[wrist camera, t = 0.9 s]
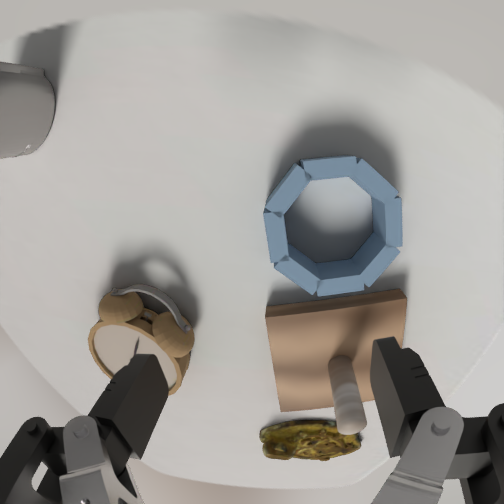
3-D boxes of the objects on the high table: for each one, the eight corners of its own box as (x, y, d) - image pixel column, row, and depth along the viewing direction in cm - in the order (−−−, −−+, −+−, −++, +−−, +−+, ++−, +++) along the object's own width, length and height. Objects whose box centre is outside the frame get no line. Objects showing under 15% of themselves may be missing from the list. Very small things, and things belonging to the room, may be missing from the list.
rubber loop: (259, 165, 24) (256, 167, 20) (382, 152, 22) (397, 153, 19) (277, 282, 27) (276, 301, 24) (388, 268, 25) (401, 284, 22)
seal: (372, 416, 34) (266, 407, 34) (381, 439, 29) (266, 433, 30) (348, 456, 36) (252, 449, 36) (353, 478, 32) (250, 473, 32)
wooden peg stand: (266, 306, 28) (258, 380, 18) (399, 288, 26) (443, 350, 17) (281, 399, 32) (278, 470, 22) (389, 384, 30) (411, 449, 21)
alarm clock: (86, 368, 30) (85, 281, 23) (104, 342, 34) (113, 253, 27) (168, 411, 31) (202, 341, 23) (181, 380, 35) (217, 304, 28)
